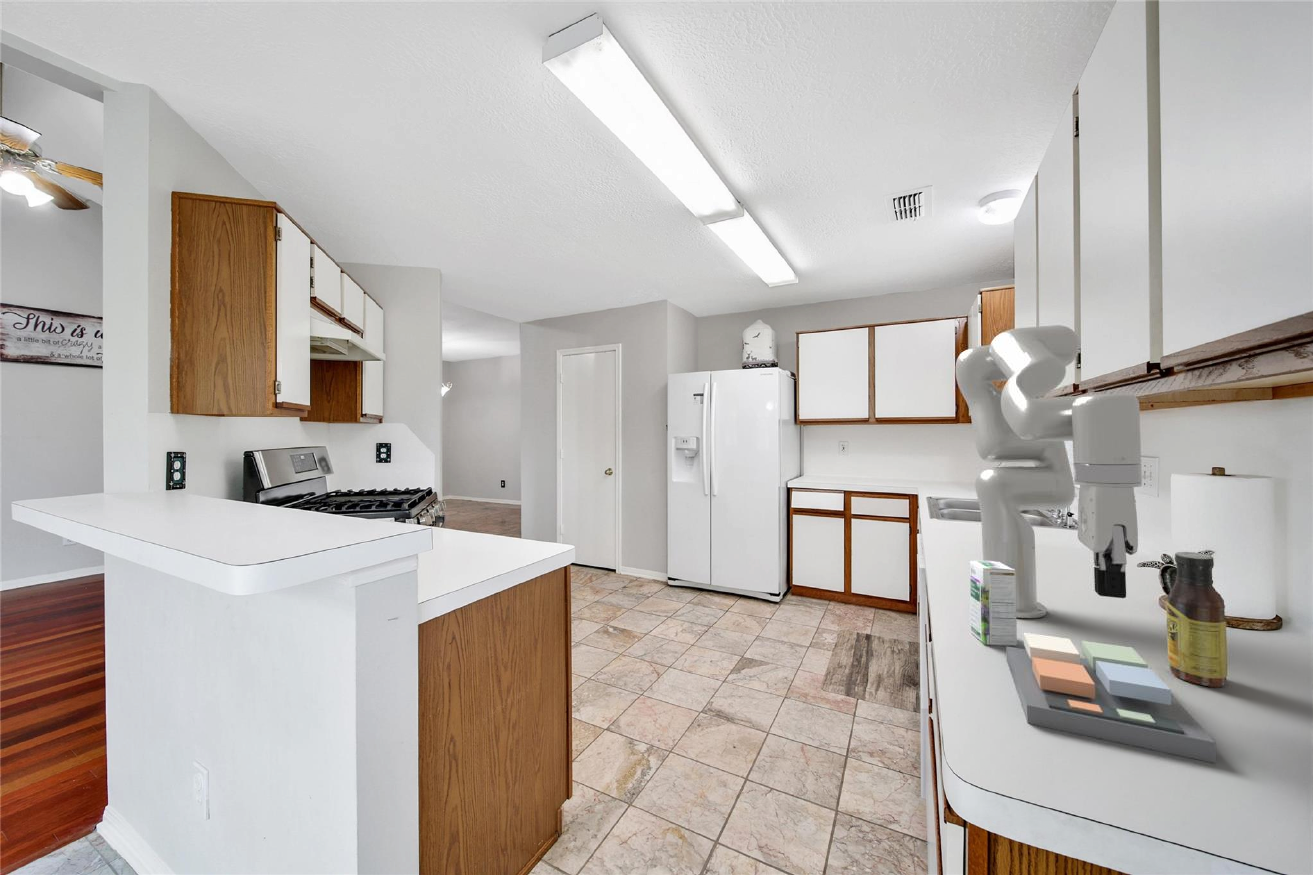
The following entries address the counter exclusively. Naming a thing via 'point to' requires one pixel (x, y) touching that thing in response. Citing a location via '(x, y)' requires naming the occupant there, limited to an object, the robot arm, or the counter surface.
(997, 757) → the counter surface
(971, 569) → the syrup box
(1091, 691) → the terracotta key
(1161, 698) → the blue key
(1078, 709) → the keypad
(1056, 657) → the cream key
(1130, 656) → the sage key
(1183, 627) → the sauce bottle
